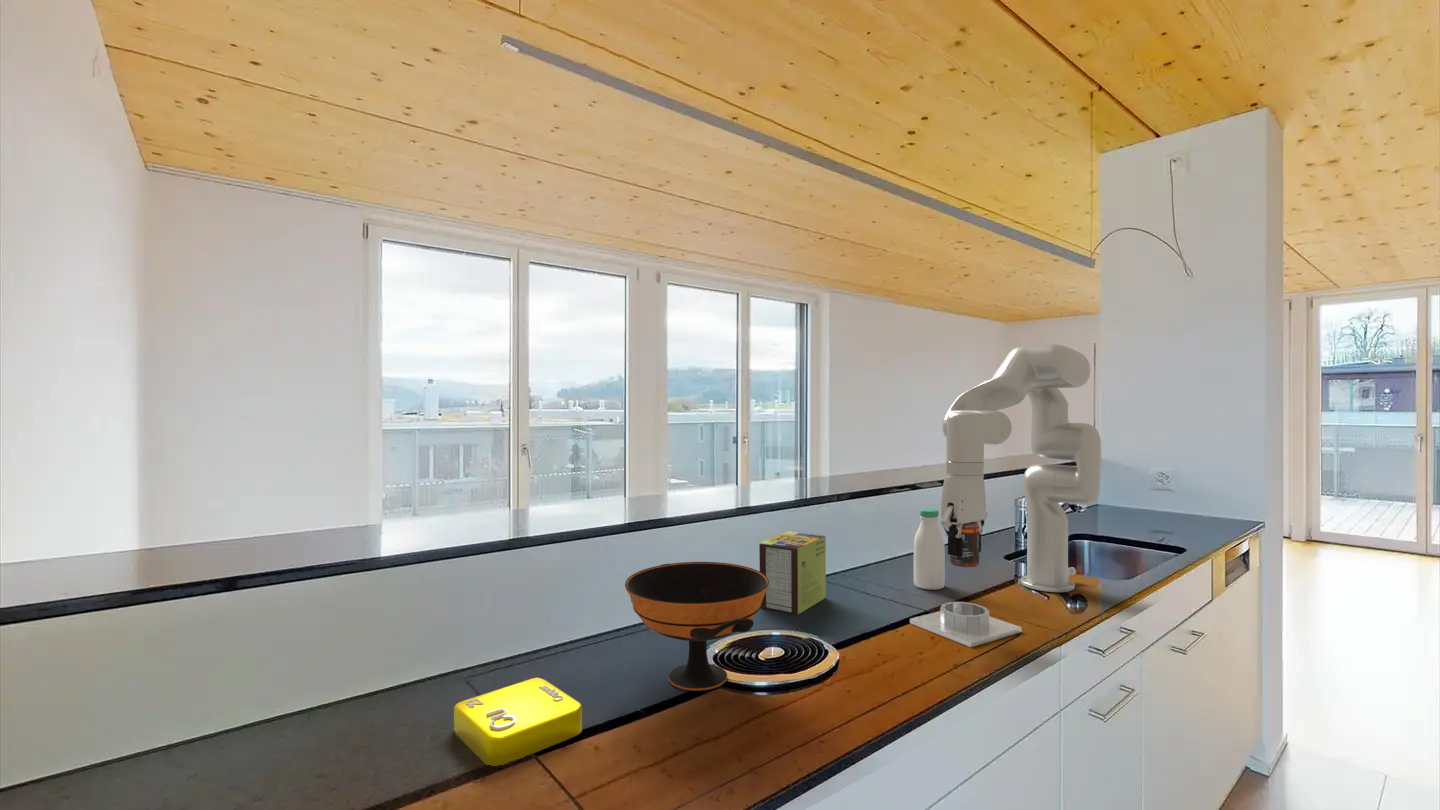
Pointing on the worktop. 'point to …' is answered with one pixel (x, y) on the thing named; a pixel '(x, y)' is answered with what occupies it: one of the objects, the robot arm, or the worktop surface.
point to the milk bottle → (929, 552)
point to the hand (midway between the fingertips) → (964, 552)
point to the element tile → (517, 721)
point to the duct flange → (965, 624)
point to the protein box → (793, 571)
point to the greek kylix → (697, 610)
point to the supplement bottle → (968, 546)
